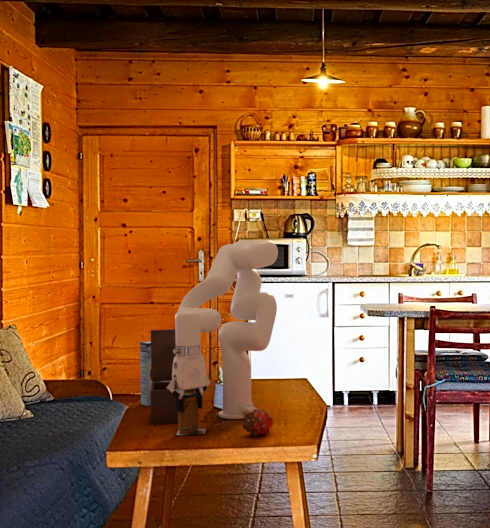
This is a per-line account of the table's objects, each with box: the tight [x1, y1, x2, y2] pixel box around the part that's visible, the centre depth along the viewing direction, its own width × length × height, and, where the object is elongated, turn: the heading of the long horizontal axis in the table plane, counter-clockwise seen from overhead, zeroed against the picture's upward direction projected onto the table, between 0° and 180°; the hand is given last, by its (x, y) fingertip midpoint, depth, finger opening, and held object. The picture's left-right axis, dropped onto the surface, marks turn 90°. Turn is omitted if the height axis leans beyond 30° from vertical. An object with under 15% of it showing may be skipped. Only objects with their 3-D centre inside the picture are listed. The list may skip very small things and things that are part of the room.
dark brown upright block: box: [150, 328, 176, 381], centre depth 290 cm, size 18×14×5 cm
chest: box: [150, 382, 195, 425], centre depth 281 cm, size 17×14×11 cm
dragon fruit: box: [242, 408, 274, 437], centre depth 254 cm, size 8×8×12 cm
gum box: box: [139, 340, 171, 407], centre depth 310 cm, size 20×5×23 cm, turn 134°
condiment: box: [175, 392, 207, 436], centre depth 258 cm, size 7×8×12 cm
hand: (189, 409), depth 258 cm, fingers closed on condiment, 6 cm apart
